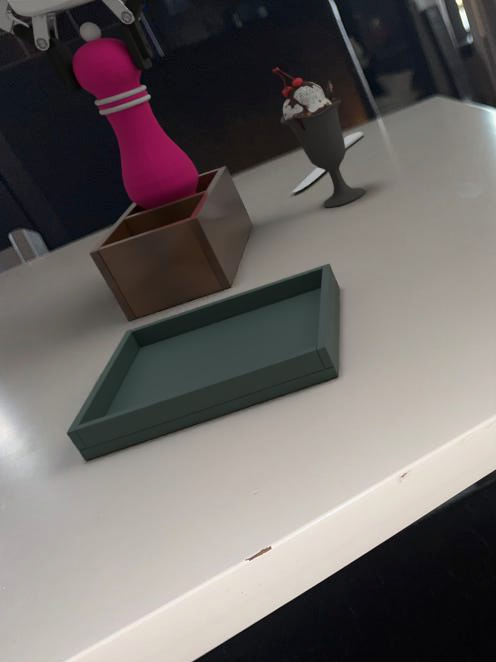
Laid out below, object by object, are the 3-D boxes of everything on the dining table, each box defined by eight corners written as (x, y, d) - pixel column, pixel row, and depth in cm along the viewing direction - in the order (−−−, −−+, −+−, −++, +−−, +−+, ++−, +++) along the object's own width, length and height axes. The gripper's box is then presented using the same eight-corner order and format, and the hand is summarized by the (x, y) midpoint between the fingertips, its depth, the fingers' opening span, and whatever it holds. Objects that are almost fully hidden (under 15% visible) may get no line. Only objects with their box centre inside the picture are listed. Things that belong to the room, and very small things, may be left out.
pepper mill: (173, 235, 77) (70, 25, 67) (134, 236, 81) (32, 39, 71) (228, 206, 81) (138, 6, 72) (188, 208, 86) (99, 19, 76)
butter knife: (366, 129, 113) (348, 134, 113) (304, 188, 93) (283, 193, 94) (367, 132, 113) (349, 137, 114) (305, 191, 93) (285, 196, 94)
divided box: (128, 321, 71) (88, 253, 67) (169, 251, 88) (139, 194, 84) (231, 287, 71) (196, 217, 67) (252, 224, 88) (226, 165, 84)
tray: (85, 461, 49) (65, 433, 48) (140, 354, 63) (125, 330, 62) (338, 376, 49) (325, 346, 48) (339, 288, 63) (329, 263, 62)
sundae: (305, 214, 85) (248, 77, 78) (335, 190, 90) (284, 60, 83) (354, 207, 82) (299, 63, 75) (382, 182, 87) (333, 46, 80)
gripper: (117, -159, 69) (204, 48, 77) (-68, -102, 69) (40, 100, 77) (93, -172, 62) (191, 56, 71) (-112, -109, 62) (12, 112, 71)
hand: (111, 77), depth 74 cm, fingers closed on pepper mill, 6 cm apart
